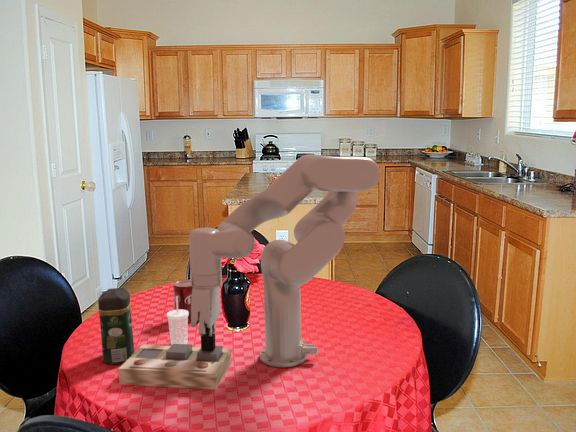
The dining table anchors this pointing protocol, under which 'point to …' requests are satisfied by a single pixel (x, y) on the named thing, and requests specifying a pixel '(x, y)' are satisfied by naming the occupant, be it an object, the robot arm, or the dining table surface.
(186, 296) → the soda can
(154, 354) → the button
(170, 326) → the beverage cup
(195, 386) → the button board
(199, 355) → the button
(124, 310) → the coffee jar
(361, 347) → the dining table surface
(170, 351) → the middle button
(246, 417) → the dining table surface
